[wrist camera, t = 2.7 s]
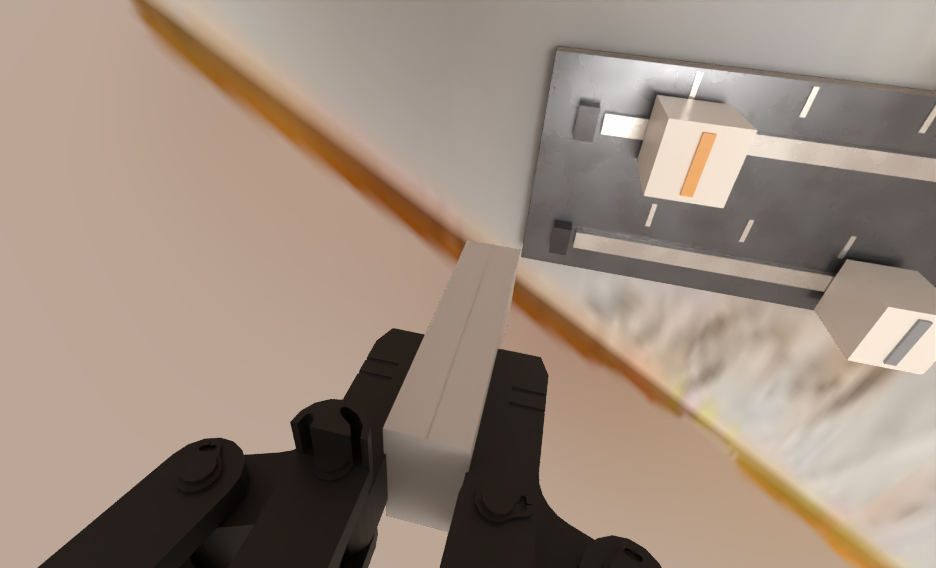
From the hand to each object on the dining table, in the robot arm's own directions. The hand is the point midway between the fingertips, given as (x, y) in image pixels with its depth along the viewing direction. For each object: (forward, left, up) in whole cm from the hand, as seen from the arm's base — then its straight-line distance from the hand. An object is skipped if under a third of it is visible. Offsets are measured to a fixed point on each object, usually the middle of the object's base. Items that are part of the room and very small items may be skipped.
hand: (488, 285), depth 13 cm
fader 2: (+8, +22, -18) cm, 30 cm away
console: (+3, +18, -21) cm, 28 cm away
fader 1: (0, +8, -18) cm, 20 cm away
